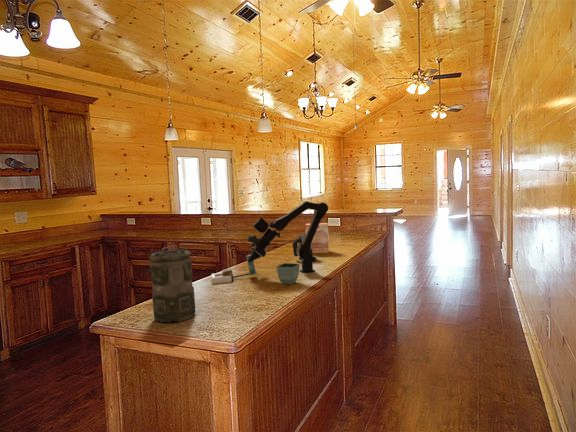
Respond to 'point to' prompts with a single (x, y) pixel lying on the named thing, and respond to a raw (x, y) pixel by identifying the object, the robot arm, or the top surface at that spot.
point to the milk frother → (300, 240)
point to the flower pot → (288, 273)
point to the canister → (172, 285)
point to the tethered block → (251, 272)
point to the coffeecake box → (320, 238)
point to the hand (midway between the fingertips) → (247, 261)
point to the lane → (220, 278)
